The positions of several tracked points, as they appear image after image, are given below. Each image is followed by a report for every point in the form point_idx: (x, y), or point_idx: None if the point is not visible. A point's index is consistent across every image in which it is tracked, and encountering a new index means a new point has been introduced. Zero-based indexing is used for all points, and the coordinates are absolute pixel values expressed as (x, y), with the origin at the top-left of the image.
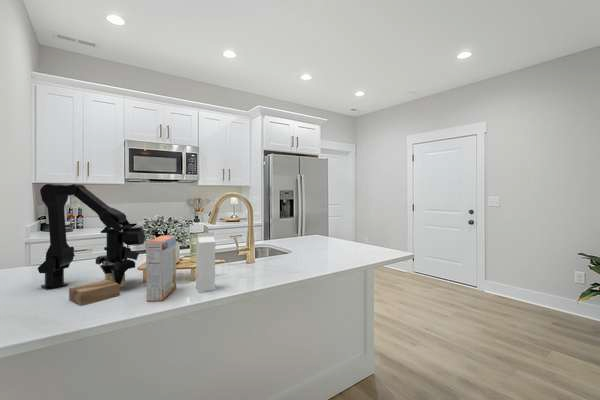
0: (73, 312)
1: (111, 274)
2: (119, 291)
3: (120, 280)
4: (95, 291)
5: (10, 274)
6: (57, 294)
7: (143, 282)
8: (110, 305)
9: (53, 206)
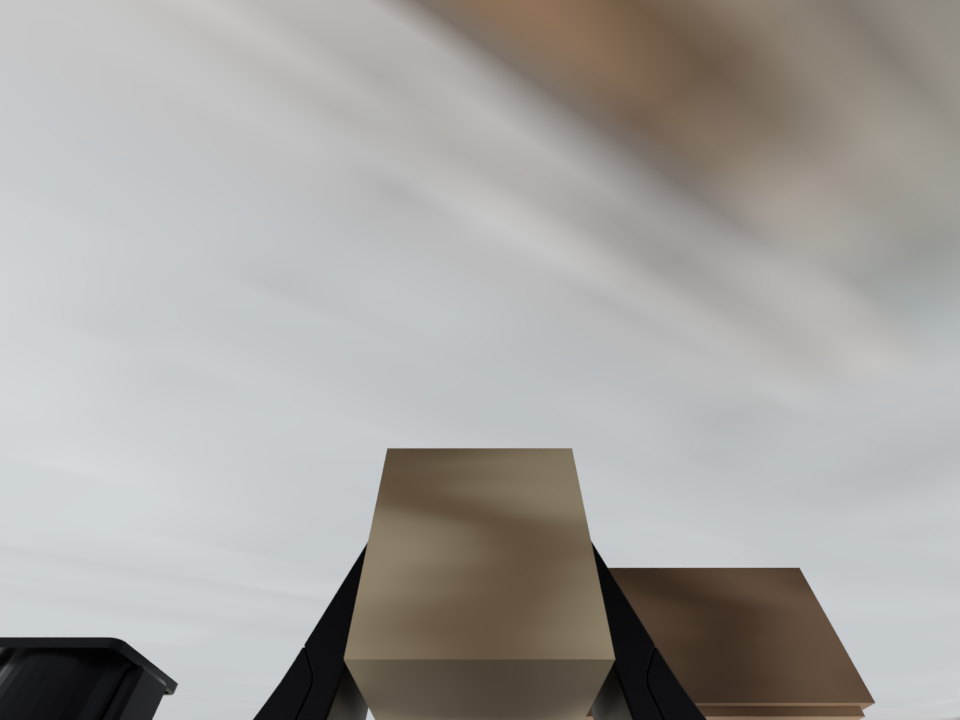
0: None
1: (465, 716)
2: (823, 610)
3: (617, 597)
4: None
5: None
6: None
7: (687, 196)
8: (897, 637)
9: None
